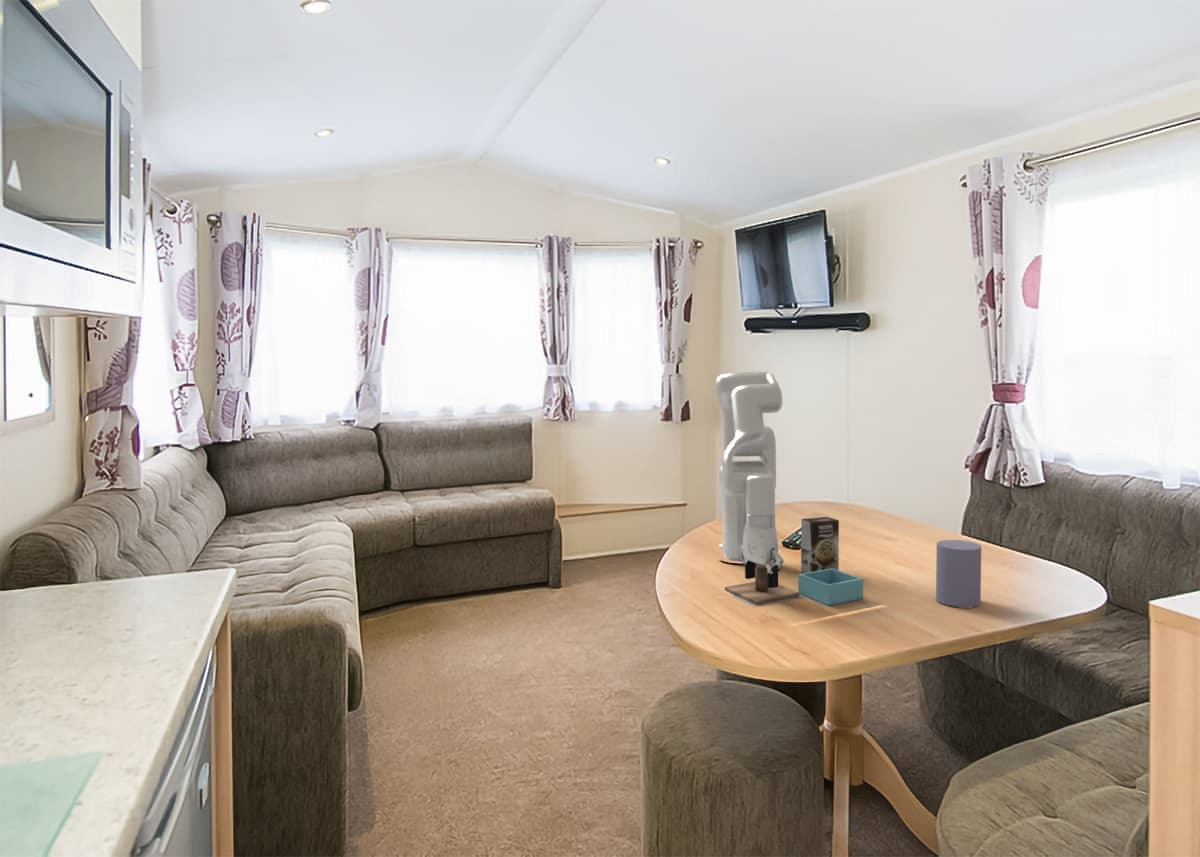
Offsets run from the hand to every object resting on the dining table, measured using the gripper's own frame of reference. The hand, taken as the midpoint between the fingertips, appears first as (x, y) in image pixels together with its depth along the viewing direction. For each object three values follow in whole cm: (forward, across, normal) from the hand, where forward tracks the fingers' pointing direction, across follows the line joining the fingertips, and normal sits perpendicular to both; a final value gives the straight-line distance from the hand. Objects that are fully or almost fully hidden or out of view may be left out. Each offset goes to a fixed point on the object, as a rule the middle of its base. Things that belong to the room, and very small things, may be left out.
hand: (761, 582), depth 203 cm
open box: (+4, +11, +14) cm, 18 cm away
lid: (+3, 0, 0) cm, 3 cm away
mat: (+4, 0, 0) cm, 4 cm away
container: (+4, +29, +40) cm, 50 cm away
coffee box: (+4, -9, +28) cm, 30 cm away
